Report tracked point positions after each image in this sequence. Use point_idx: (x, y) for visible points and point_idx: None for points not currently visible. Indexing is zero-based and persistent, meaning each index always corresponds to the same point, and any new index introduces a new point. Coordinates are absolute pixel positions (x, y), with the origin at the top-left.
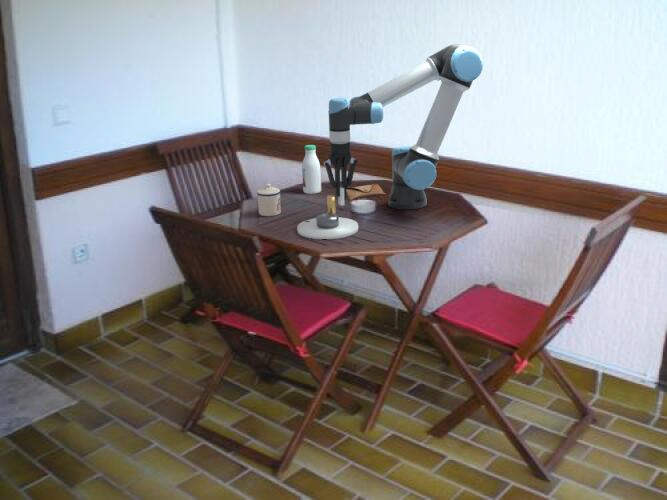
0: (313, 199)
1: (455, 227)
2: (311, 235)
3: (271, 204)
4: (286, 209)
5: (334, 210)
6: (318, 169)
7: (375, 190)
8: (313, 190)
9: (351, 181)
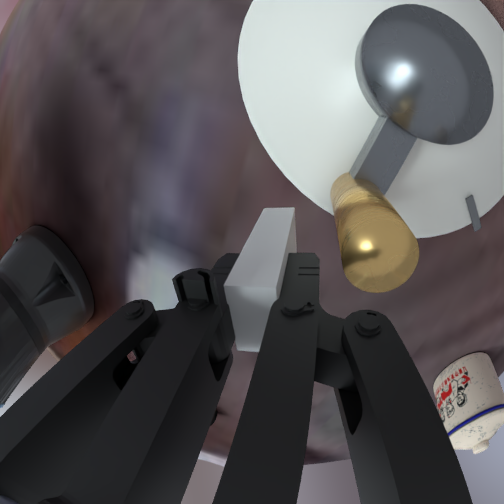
0: None
1: (3, 44)
2: (492, 19)
3: (489, 380)
4: None
5: (350, 184)
6: None
7: None
8: None
9: (103, 327)
